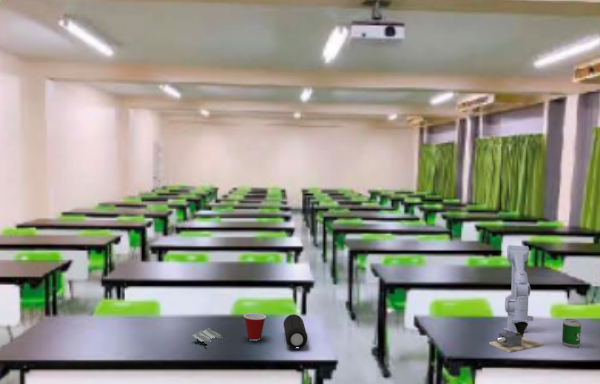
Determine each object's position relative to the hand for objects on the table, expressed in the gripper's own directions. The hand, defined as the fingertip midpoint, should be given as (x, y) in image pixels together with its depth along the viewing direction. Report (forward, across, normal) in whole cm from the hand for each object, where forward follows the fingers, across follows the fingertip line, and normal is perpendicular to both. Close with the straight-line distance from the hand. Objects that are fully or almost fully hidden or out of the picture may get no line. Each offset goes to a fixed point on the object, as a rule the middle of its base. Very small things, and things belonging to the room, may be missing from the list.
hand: (520, 337), depth 245 cm
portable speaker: (+4, -97, +46) cm, 107 cm away
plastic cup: (+3, -114, +55) cm, 126 cm away
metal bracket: (+4, -134, +61) cm, 147 cm away
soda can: (+4, +21, -11) cm, 24 cm away
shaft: (+1, -8, 0) cm, 8 cm away
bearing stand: (+3, -3, 0) cm, 4 cm away
